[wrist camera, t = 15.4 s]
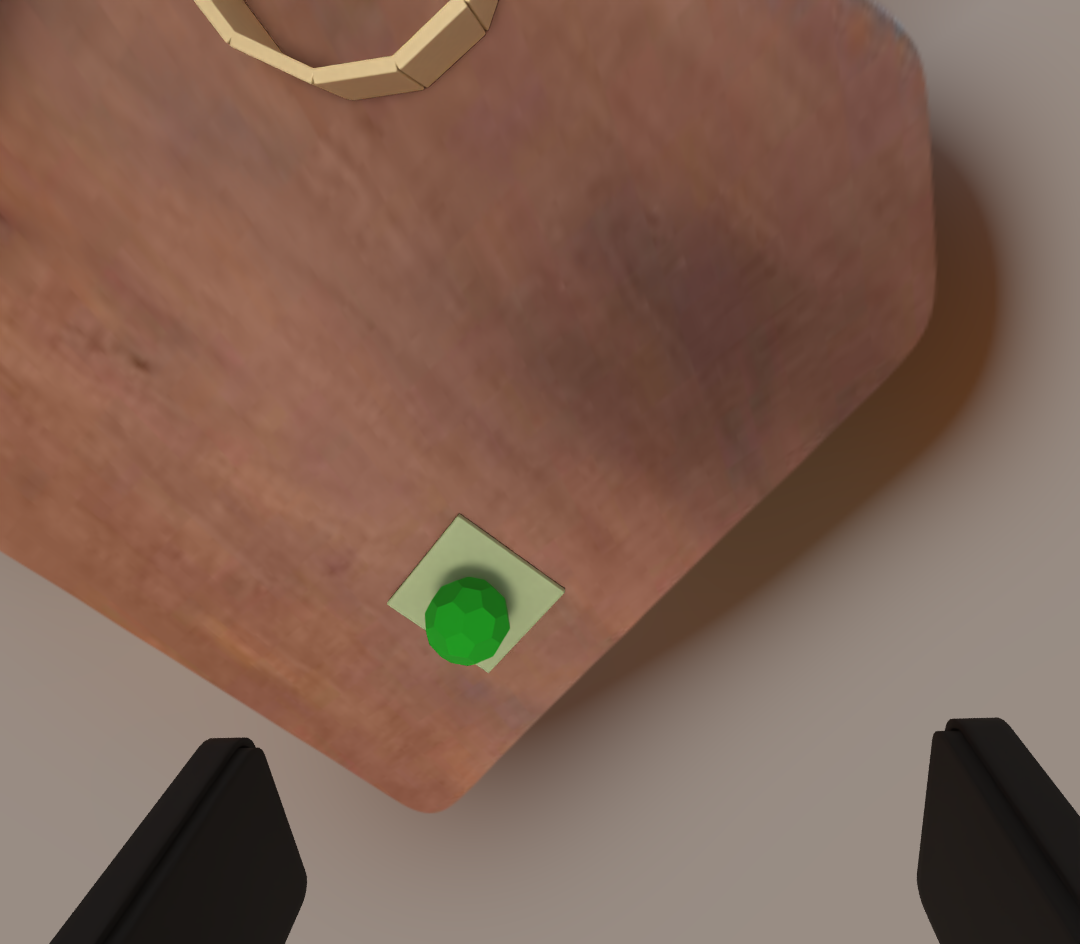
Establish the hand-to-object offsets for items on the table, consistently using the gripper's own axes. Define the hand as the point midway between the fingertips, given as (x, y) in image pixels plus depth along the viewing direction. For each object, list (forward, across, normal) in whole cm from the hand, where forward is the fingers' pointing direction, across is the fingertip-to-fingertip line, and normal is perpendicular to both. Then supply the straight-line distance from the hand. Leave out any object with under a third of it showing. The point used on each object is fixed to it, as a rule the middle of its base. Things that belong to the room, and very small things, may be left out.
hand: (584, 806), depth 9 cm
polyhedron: (+28, +9, +14) cm, 32 cm away
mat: (+28, +9, +14) cm, 32 cm away
